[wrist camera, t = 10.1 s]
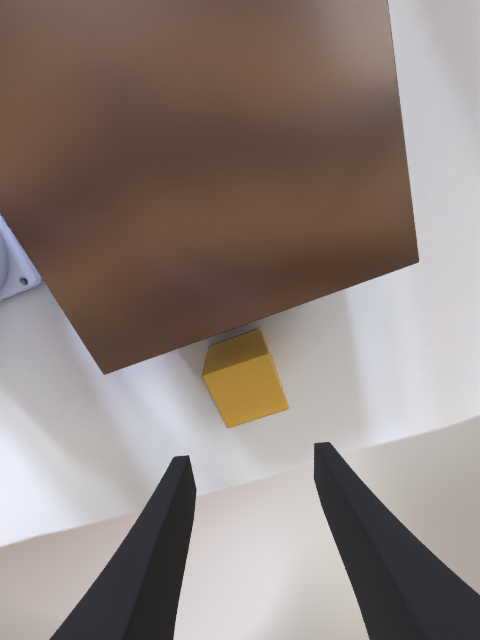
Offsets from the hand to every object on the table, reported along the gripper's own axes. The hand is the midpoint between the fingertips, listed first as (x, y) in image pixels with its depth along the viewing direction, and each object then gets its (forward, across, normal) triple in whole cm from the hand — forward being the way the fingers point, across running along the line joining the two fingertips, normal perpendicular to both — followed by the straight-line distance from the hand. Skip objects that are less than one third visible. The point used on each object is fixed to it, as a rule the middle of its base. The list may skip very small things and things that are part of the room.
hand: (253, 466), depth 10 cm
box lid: (+3, +1, -12) cm, 12 cm away
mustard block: (+9, 0, 0) cm, 9 cm away
